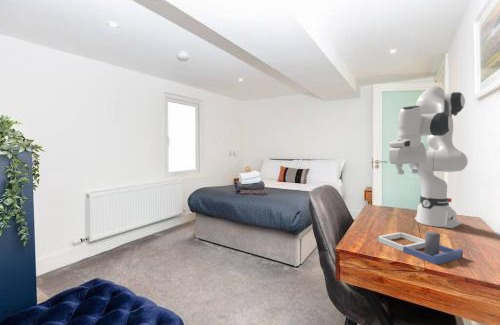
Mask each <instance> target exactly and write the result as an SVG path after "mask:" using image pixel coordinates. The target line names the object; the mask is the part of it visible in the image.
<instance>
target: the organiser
mask: <svg viewBox="0 0 500 325" xmlns="http://www.w3.org/2000/svg"><path fill="white" fill-rule="evenodd" d="M400 238H402V239H405V240H408V241H411V242H413V243H411V244H405V245H403V244H401V243H397V242H396V241H393V240H396V239H400ZM376 242H379V243H381V244H383V245H386V246H389V247H391V248H393V249H396V250H398V251H400V252H403V253H406V254H408V255H412V256H413V257H416V258H418V259H420V260H422V261H423V260H424V261H425V262H428V263H431V264H433V265H441V264H445V263H448V262H452V261H455V260H458V259H463V256H464V249H462V248H457V249H455V248H451V247H448V246H445V245H442V244H440V245H439V254H436V255H434V257H433V256H430V255H428V254H425V252H423V251H419V250H420V249H425V238H424V239H423V238H421V237H418V236H414V235H411V234H408V233H405V232H403V231H399V232H394V233H389V234H383V235H377V236H376ZM440 252H441V253H440Z"/></svg>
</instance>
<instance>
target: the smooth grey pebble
mask: <svg viewBox="0 0 500 325" xmlns="http://www.w3.org/2000/svg"><path fill="white" fill-rule="evenodd" d="M424 237H425V238H424V240H425V248H424V253H425V254H428V255H430V256H433V257H434V255H436V254H440V251H439V245H441V244H440V243H441V242H440V241H441V234H440V233H439V232H435V231H429V230H427V231H425V236H424Z"/></svg>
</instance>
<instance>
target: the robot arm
mask: <svg viewBox="0 0 500 325" xmlns="http://www.w3.org/2000/svg"><path fill="white" fill-rule="evenodd" d="M465 104H466V99H465V97H464V94H463V93H462V92H460V91H457V92H456V91H455V92H453V91H452V92H451V93H450V92H449V93H448V92H447V93H445V90H444V89H443V88H442V87H440V86H430V87H428V88H427V89H425V90H424V91H423V92H422V93H421V94H420V95H419V97H418V98H417V100H416V103H415V105H410V106H404V107H402V108H400V109H399V110H400V111H399V114H398V122H397V123H398V125H397V128H398V133H397V138H396V139H394V140H393V141H390V142H389V147H390V148H389V153H388V154H389V155H388V158H389V160H388V161H389V164H390V165H395V168H396V170H397V174H398V175H402V176H403V175H404V173H405V170H404V169H403V166H404V165H408V167H409V168H410V169H411V170H412V171H411V172H412V174H416V175H418V177H419V179H420V185H421V186H420V187H421V190H420V193H421V195H420V197H419V203H420V204H418V205H417V210H416V216H415V217H414V219H415V221H416V222H417V223H418V224H421V225H426V226H430V227H431V226H432V227H438V228H446V229H447V228H448V229H454V228H455V227H458V226H460V225H463V222H462V221H461V220H458V219H457V212H456V211H455V210H454V209H453V208H452V207H451V206H450V203H452V198H449V197H448V184H447V182H446V181H445V180H444V179H442V178H440V177H438V176H436V175H435V173H434V172H446V173H452V172H453V173H454V172H461V171H464V169H465V168H466V167H467V166H468V162H469V161H468V157H467V155H466V154H465V153H464V152H463V151H461V150H459V149H458V148H456V146H455V145H454V144H453V134H454V119H453V116H454V117H455V116H457V115H458V114H459V113H460V112H461V111H462V110H463V109H464V107H465ZM422 136H427V137H426V144H427V146H429V148H431V149H433V150H429V149H428V150H427V148H426V145H425V144H424V143H423V142H422Z"/></svg>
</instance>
